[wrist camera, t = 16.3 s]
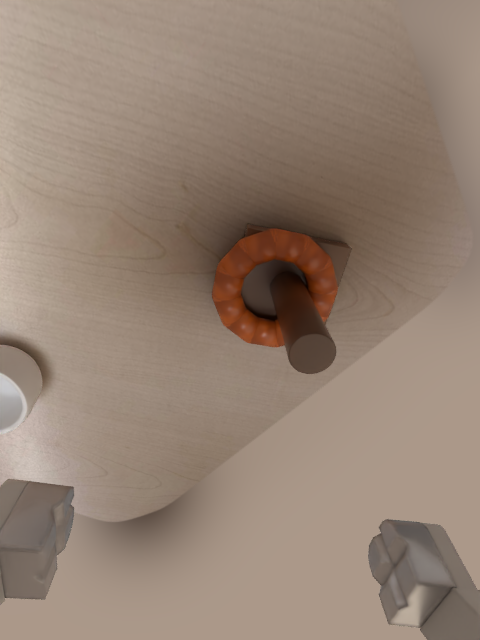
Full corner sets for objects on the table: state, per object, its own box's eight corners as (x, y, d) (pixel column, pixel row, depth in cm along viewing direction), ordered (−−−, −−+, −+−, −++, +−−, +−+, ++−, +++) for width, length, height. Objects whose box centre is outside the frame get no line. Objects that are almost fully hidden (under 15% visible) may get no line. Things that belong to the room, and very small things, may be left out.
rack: (346, 243, 33) (407, 301, 22) (317, 331, 37) (356, 419, 26) (247, 223, 32) (258, 274, 21) (227, 316, 36) (227, 400, 25)
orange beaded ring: (348, 240, 32) (357, 248, 29) (312, 345, 36) (318, 359, 34) (226, 215, 30) (226, 221, 28) (204, 327, 35) (203, 340, 33)
